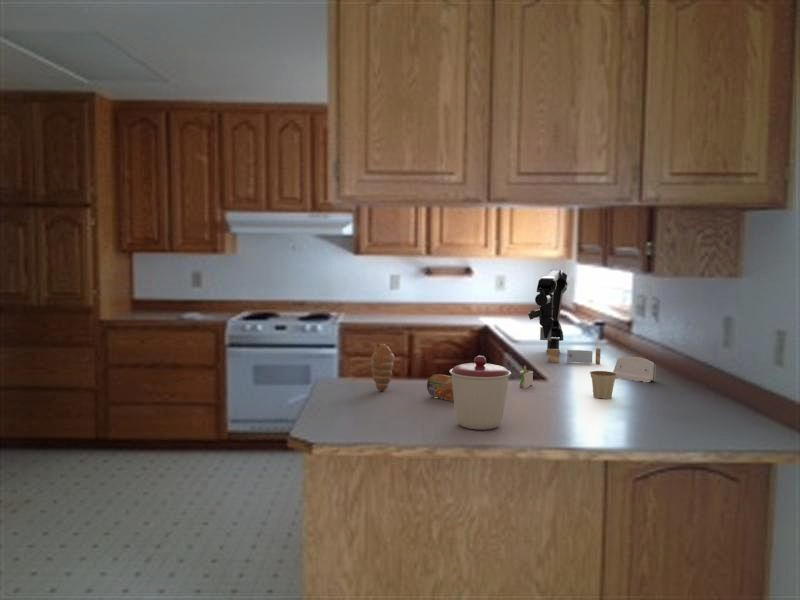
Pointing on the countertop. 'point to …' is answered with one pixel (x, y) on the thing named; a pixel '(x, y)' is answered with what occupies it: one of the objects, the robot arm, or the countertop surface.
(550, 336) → the block
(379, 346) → the croissant
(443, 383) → the tin
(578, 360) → the door
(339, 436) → the countertop surface
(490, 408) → the canister
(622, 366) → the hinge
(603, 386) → the flower pot
